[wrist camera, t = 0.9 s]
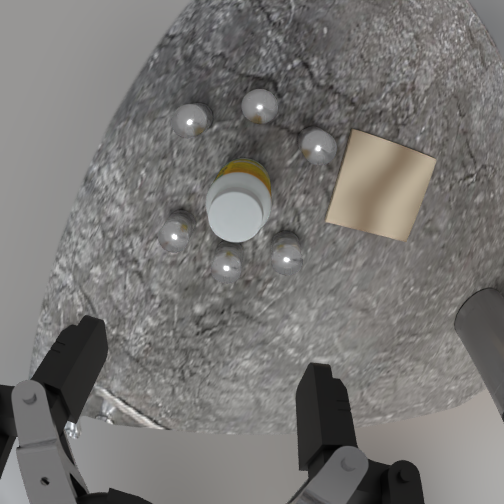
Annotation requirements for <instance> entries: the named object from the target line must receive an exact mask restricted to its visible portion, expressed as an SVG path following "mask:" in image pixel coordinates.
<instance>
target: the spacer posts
mask: <svg viewBox="0 0 504 504" xmlns="http://www.w3.org/2000/svg"><path fill="white" fill-rule="evenodd" d="M241 107H242V112H243V114H244V116H245V117H246V118H247V119H248V120H249V121H251V122H253V123H257V124H263V123H267V122H269V121H271V120H272V119H273V118H274V117H275V115H276V114H277V111H278V102H277V99H276V97H275V96H274V95H273V94H272V93H271V92H269V91H267V90H264V89H255V90H252V91H250V92H249V93H247V94H246V95H245V97H244V98H243V100H242V105H241ZM212 122H213V113H212V111H211V109H210V108H209V107H208V106H207V105H205V104H202V103H193V104H186V105H182V106H180V107H179V108H177V109H176V110H175V112H174V113H173V115H172V118H171V125H172V128H173V130H174V132H175V133H176V134H177V135H179V136H180V137H183V138H193V137H196V136H197V135H199V134H201V133H202V132H204V131H206V130H207V129H208V128H209V127H210V126H211V124H212ZM298 146H299V148H300V150H301V152H302V153H303V155H304V157H305V158H306V159H307V160H308V161H309V162H310V163H312V164H315V165H325V164H327V163H329V162H330V161H332V160H333V158H334V157H335V155H336V152H337V145H336V142H335V140H334V138H333V137H332V136H331V135H330V134H328V133H327V132H325V131H324V130H322V129H320V128H318V127H313V126H312V127H307V128H305V129H304V130H302V131H301V133H300V134H299V137H298ZM195 226H196V221H195V218H194V216H193V215H192V214H191V213H190V212H188V211H186V210H176V211H174V212H173V213H172V214H171V215H170V217H169V218H168V220H167V221H166V222H165V224H164V225H163V227H162V228H161V229H160V231H159V233H158V241H159V243H160V245H161V246H162V247H163V248H164V249H165V250H167V251H169V252H173V253H176V252H180V251H182V250H183V249H184V248H185V247H186V245H187V243H188V241H189V239H190V237H191V235H192V233H193V231H194V229H195ZM271 245H272V266H273V268H274V270H275V271H276V272H278V273H279V274H282V275H292V274H295V273H296V272H298V271H299V270H300V269H301V267H302V264H303V259H302V254H301V249H300V243H299V239H298V237H297V236H296V235H295V234H294V233H292V232H290V231H281V232H279V233H277V234H276V235H275V236H274V237H273V239H272V244H271ZM243 254H244V251H243V248H242V246H241V244H240V243H238V242H229V241H226V240H224V241H222V242H221V243H219V245H218V246H217V249H216V253H215V256H214V259H213V262H212V266H211V273H212V276H213V277H214V278H215V279H216V280H217V281H219V282H221V283H233V282H235V281H236V280H237V279H238V278H239V277H240V274H241V268H242V261H243Z"/></svg>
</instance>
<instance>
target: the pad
mask: <svg viewBox="0 0 504 504" xmlns="http://www.w3.org/2000/svg"><path fill="white" fill-rule="evenodd" d="M436 160H437V159H435V158H432V157H430V156H427V155H425V154H422V153H420V152H417V151H415V150H412V149H410V148H407V147H404V146H402V145H399V144H396V143H394V142H391V141H388V140H385V139H382V138H380V137H377V136H374V135H371V134H368V133H365V132H362V131H358V130H355V129H352V128H351V132H350V135H349V139H348V142H347V146H346V150H345V153H344V157H343V160H342V164H341V167H340V171H339V174H338V177H337V181H336V184H335V187H334V191H333V194H332V197H331V201H330V204H329V207H328V210H327V213H326V217H325V222H328V223H332V224H336V225H341V226H345V227H349V228H353V229H357V230H361V231H365V232H369V233H373V234H377V235H381V236H385V237H389V238H393V239H396V240H400V241H404V242H406V241H407V239H408V236H409V234H410V232H411V229H412V227H413V224H414V222H415V219H416V216H417V214H418V211H419V209H420V206H421V203H422V201H423V198H424V195H425V192H426V190H427V187H428V184H429V181H430V178H431V175H432V172H433V169H434V166H435V163H436Z"/></svg>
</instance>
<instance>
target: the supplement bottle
mask: <svg viewBox="0 0 504 504" xmlns="http://www.w3.org/2000/svg"><path fill="white" fill-rule="evenodd" d="M271 207H272V201H271V183H270V178H269V175H268V173H267V171H266V170H265V168H264V167H263V166H262V165H261V164H260V163H258V162H257V161H255V160H252V159H248V158H239V159H235V160H232V161H230V162H229V163H227V164H226V165H225V166H224V167H223V168H222V169H221V170H220V172H219V174H218V175H217V177H216V179H215V180H214V182H213V184H212V185H211V187H210V189H209V191H208V193H207V197H206V210H207V214H208V220H209V224H210V227H211V228H212V230H213V231H214V233H215V234H216V235H217V236H219V237H220V238H222V239H224V240H226V241H229V242H243V241H246V240H249V239H251V238H252V237H253V236H255V235H256V234H257V232H258V231H259V230H260V228H261V227H262V226H263V225H264V224H265V223H266V222H267V220H268V218H269V216H270V213H271Z"/></svg>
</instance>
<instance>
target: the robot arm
mask: <svg viewBox="0 0 504 504" xmlns="http://www.w3.org/2000/svg"><path fill="white" fill-rule="evenodd" d="M455 330H456V332H457V334H458V335H459V337H460V339H461V341H462V342H463V344H464V346H465V347H466V349H467V351H468V353H469V355H470V357H471V358H472V360H473V362H474V364H475V366H476V367H477V369H478V371H479V373H480V375H481V377H482V379H483V381H484V383H485V385H486V387H487V389H488V390H489V393H490V395H491V397H492V399H493V400H494V403H495V405H496V407H497V409H498V411H499V413H500V415H501V417H502V420H503V422H504V298H503V297H502V296H501V294H500V293H499V292H498V291H497V290H495V289H485V290H482V291H480V292H478V293H476V294H475V295H473V296H472V297H471V298H470V299H469V300H467V302H466V303H465V304H464V305H463V306H462V308H461V309H460V311H459V313H458V315H457V317H456V320H455ZM107 353H108V344H107V337H106V330H105V323H104V321H103V320H101V319H98V318H94V317H91V316H88V315H85V316H84V317H83V318H82V320H81V321H80V323H79V324H78V326H76V325H73V324H71V325H70V326H69V327H67V328H66V329H64V330H63V331H62V332H61V333H60V335H59V336H58V338H57V339H56V342H55V343H54V344H53V345H52V347H51V350H49V351H48V353H47V355H46V356H45V358H44V359H43V361H42V362H41V364H40V366H39V367H38V369H37V370H36V372H35V374H34V375H33V377H32V378H31V379H30V380H25V381H22V382H20V383H19V384H17V385H16V386H6V385H0V479H1V476H2V473H3V470H4V467H5V465H6V462H7V459H8V457H9V454H10V451H11V449H12V446H13V444H14V441H15V439H16V437H18V440H19V447H17V449H16V453H17V459H18V463H19V467H20V471H21V475H22V479H23V482H24V486H25V489H26V492H27V496H28V499H29V502H30V504H152V503H150V502H148V501H146V500H144V499H143V498H141V497H139V496H135V495H132V494H128V493H125V492H121V491H118V490H115V489H112V488H109V492H108V493H105V492H103V493H102V492H101V493H100V492H98V493H89V491H88V489H87V486H86V484H85V482H84V479H83V478H82V476H81V474H80V472H79V470H78V467H77V465H76V462H75V459H74V456H73V454H72V451H71V448H70V445H69V441H68V439H67V435H66V432H65V429H64V427H65V425H66V423H67V421H70V422H72V423H75V424H76V423H77V421H78V419H79V416H80V414H81V412H82V410H83V407H84V405H85V403H86V401H87V399H88V396H89V394H90V392H91V390H92V388H93V386H94V383H95V381H96V379H97V377H98V375H99V373H100V371H101V369H102V367H103V365H104V363H105V360H106V358H107ZM350 410H351V408H350V403H349V398H348V393H347V389H346V387H345V386H344V384H343V383H342V381H341V380H340V379H336V378H333V377H332V371H331V367H330V365H329V364H320V363H309V365H308V367H307V369H306V371H305V373H304V375H303V377H302V379H301V381H300V383H299V385H298V388H297V391H296V415H297V435H298V456H299V470H301V471H308V477H309V478H308V479H307V480H306V481H305V482H304V484H303V485H302V486H301V487H300V488H299V490H297V492H296V493H295V494H294V495H293V496H292V497H291V499H290V500H289V501H288V502H287V503H286V504H425V503H424V497H423V491H422V485H421V479H420V474H419V471H418V469H417V467H416V466H415V465H414V464H413V463H411V462H409V461H405V460H401V461H397V462H395V463H394V464H392V465H386V464H382V463H379V462H374V461H372V460H370V459H367V457H366V455H365V454H364V453H363V452H362V451H361V450H360V449H359V448H358V446H357V442H356V436H355V431H354V425H353V419H352V414H351V412H350Z"/></svg>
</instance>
